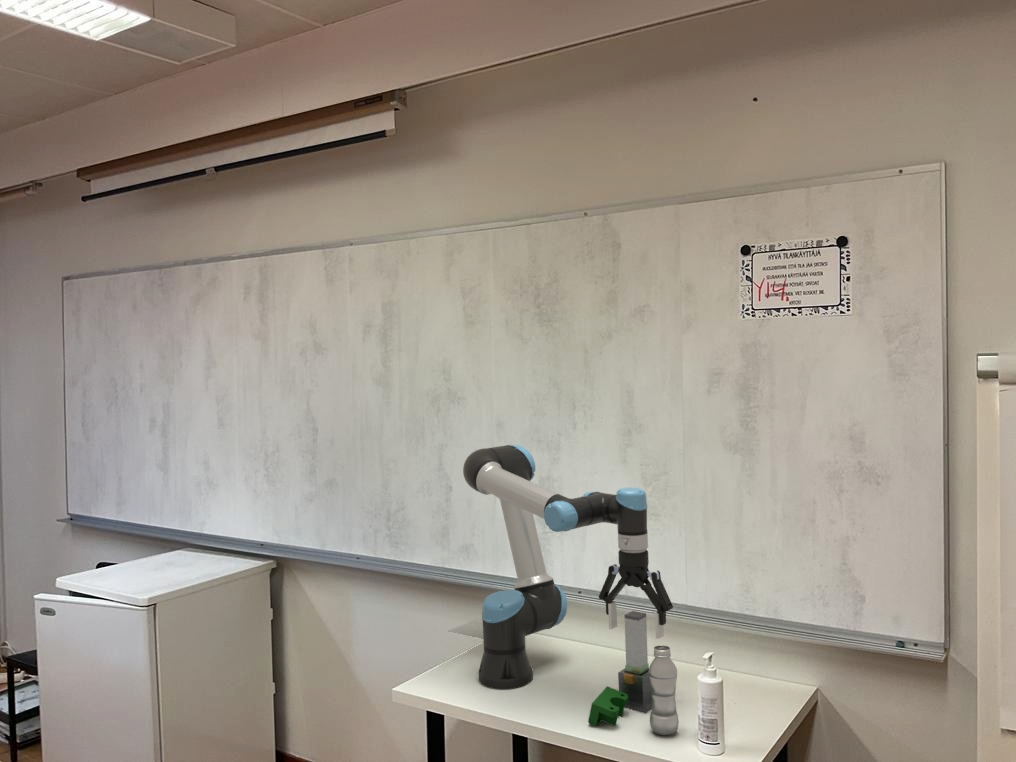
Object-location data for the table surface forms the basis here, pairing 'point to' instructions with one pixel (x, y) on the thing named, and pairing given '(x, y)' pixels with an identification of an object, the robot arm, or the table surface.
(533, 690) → the table surface
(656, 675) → the plastic bottle
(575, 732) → the table surface
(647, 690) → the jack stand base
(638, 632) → the column
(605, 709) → the clamp
